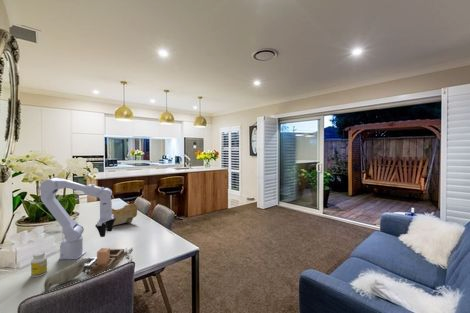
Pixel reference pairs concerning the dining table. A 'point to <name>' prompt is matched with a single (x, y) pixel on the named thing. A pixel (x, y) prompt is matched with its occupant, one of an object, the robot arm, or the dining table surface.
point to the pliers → (128, 254)
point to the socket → (92, 259)
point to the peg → (103, 256)
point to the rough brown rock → (125, 214)
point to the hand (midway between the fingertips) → (106, 233)
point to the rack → (114, 259)
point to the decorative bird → (65, 274)
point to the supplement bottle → (38, 264)
